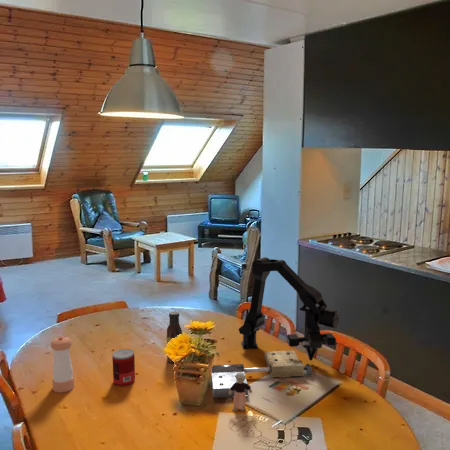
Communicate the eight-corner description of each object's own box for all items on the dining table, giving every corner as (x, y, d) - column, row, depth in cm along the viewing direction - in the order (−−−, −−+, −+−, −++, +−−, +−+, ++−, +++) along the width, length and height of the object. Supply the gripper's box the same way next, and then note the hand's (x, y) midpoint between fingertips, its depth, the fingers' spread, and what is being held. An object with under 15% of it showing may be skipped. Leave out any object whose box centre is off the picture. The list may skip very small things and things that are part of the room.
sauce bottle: (179, 364, 186) (179, 316, 183) (164, 363, 187) (163, 315, 184) (184, 357, 192) (183, 310, 189) (169, 356, 194) (169, 309, 190)
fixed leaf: (211, 375, 177) (210, 363, 177) (308, 371, 180) (308, 359, 180) (213, 397, 161) (213, 384, 160) (320, 393, 164) (320, 380, 163)
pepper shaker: (54, 394, 163) (51, 342, 160) (51, 385, 170) (48, 334, 167) (76, 389, 167) (73, 338, 164) (72, 380, 173) (69, 331, 170)
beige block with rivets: (264, 358, 191) (264, 348, 190) (293, 357, 192) (294, 347, 191) (271, 377, 175) (272, 366, 174) (303, 376, 176) (303, 365, 175)
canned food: (139, 377, 175) (138, 350, 173) (127, 388, 168) (126, 359, 166) (121, 374, 178) (120, 347, 176) (109, 384, 170) (108, 356, 168)
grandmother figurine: (231, 413, 151) (231, 376, 149) (227, 407, 155) (227, 371, 153) (253, 410, 154) (253, 373, 152) (249, 404, 157) (249, 368, 155)
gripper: (292, 331, 176) (291, 370, 178) (341, 329, 177) (339, 368, 180) (286, 320, 187) (285, 357, 189) (332, 319, 188) (331, 355, 191)
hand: (310, 360), depth 187 cm, fingers closed
